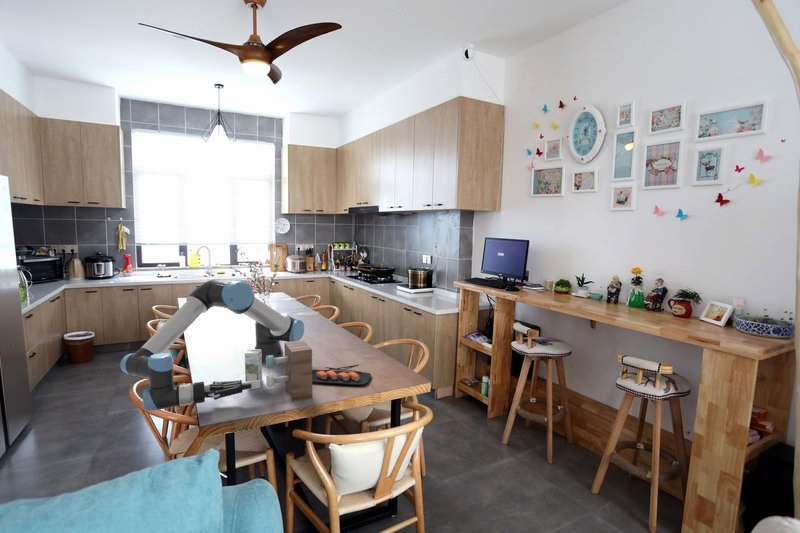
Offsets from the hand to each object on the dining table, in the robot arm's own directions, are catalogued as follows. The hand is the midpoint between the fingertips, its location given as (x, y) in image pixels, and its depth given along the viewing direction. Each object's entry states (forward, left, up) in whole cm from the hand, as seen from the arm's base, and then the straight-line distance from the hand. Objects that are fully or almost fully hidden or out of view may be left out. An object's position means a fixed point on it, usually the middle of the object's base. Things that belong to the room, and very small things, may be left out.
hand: (259, 383), depth 163 cm
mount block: (-1, +15, -7) cm, 17 cm away
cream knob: (-1, +8, -2) cm, 8 cm away
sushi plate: (-15, +39, -8) cm, 42 cm away
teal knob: (-1, +8, +6) cm, 10 cm away
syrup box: (-20, 0, -7) cm, 21 cm away
